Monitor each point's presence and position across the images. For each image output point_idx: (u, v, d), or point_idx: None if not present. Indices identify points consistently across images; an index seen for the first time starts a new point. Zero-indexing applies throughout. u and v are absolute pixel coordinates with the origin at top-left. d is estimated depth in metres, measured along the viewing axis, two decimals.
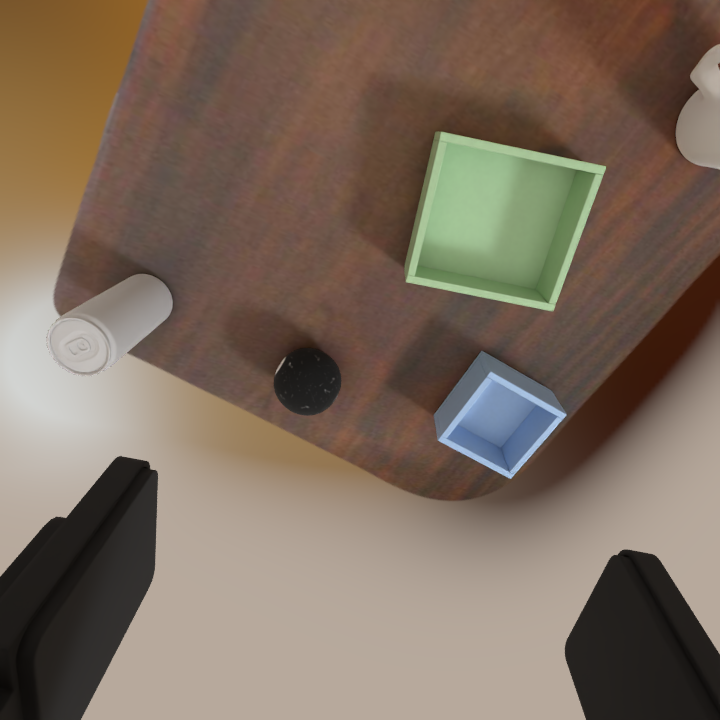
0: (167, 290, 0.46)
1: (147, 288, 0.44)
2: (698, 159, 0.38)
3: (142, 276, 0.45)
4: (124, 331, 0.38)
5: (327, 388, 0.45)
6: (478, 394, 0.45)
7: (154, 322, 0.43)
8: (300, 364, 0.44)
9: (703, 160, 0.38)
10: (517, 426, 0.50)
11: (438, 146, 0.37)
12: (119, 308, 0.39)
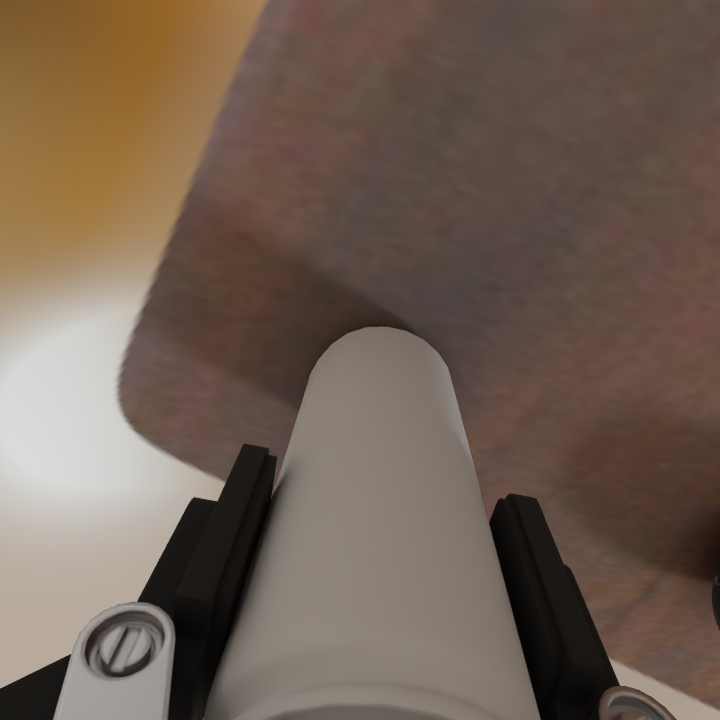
0: None
1: (437, 382, 0.14)
2: None
3: (395, 338, 0.15)
4: (518, 635, 0.08)
5: None
6: None
7: None
8: None
9: None
10: None
11: None
12: (466, 515, 0.09)
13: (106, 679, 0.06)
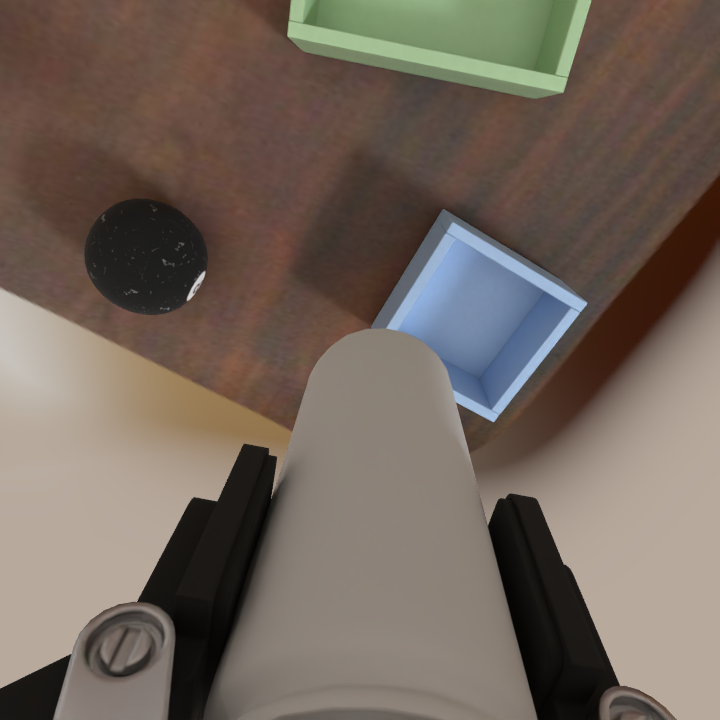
0: (448, 375, 0.16)
1: (436, 384, 0.14)
2: None
3: (394, 340, 0.15)
4: (516, 638, 0.08)
5: (168, 258, 0.25)
6: (433, 267, 0.26)
7: None
8: (118, 215, 0.25)
9: None
10: (505, 341, 0.31)
11: None
12: (465, 518, 0.09)
13: (106, 678, 0.06)
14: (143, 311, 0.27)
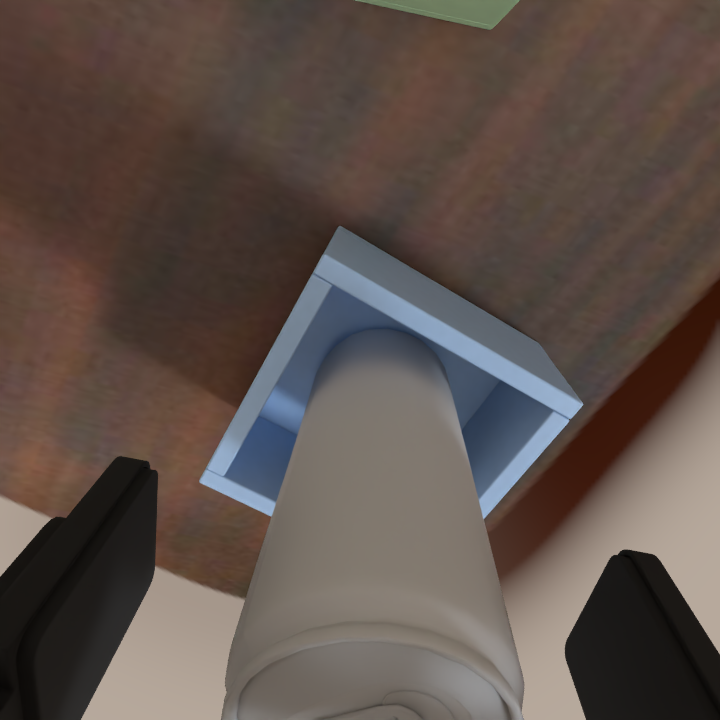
0: None
1: (434, 379, 0.15)
2: None
3: (395, 339, 0.16)
4: (503, 599, 0.09)
5: None
6: (295, 337, 0.14)
7: None
8: None
9: None
10: None
11: None
12: (458, 494, 0.10)
13: None
14: None
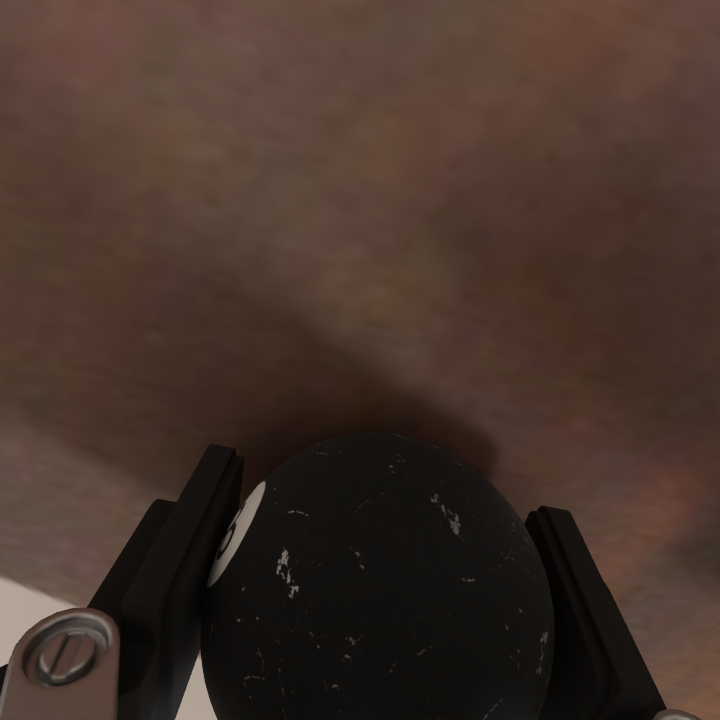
0: None
1: None
2: None
3: None
4: None
5: (521, 717, 0.07)
6: None
7: None
8: (352, 576, 0.07)
9: None
10: None
11: None
12: None
13: (47, 688, 0.06)
14: None
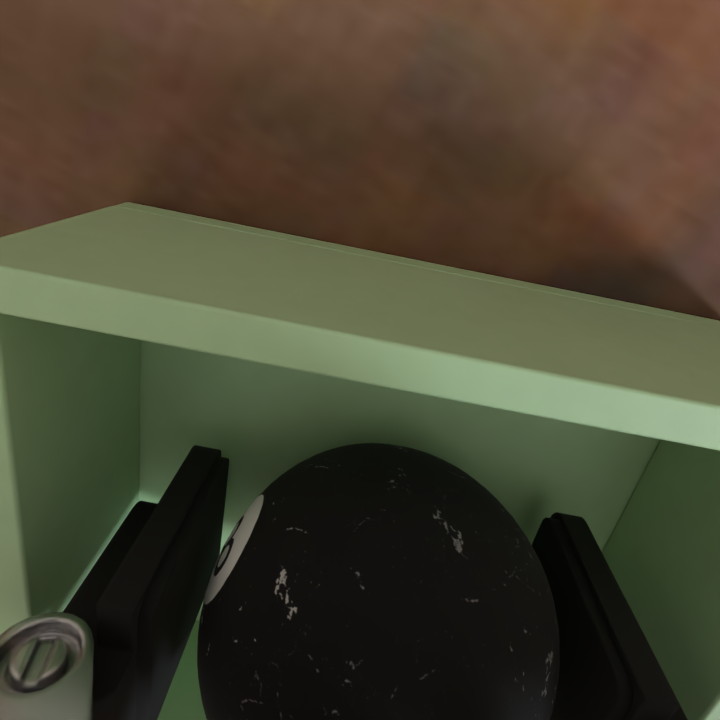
0: None
1: None
2: None
3: None
4: None
5: None
6: None
7: None
8: (352, 597, 0.07)
9: None
10: None
11: None
12: None
13: (19, 695, 0.06)
14: None
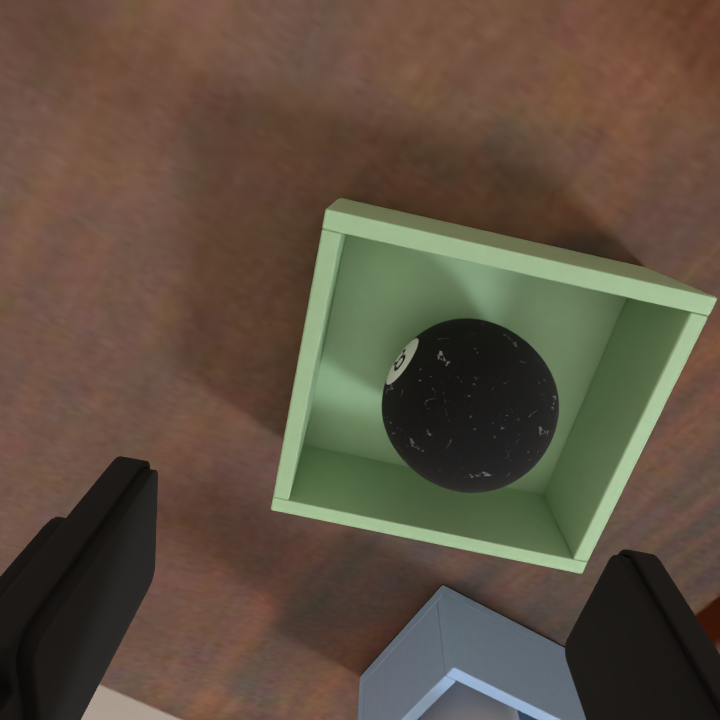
0: None
1: (509, 713, 0.24)
2: None
3: None
4: None
5: (545, 424, 0.16)
6: (430, 702, 0.23)
7: None
8: (473, 355, 0.16)
9: None
10: None
11: (321, 241, 0.16)
12: None
13: None
14: (471, 492, 0.17)
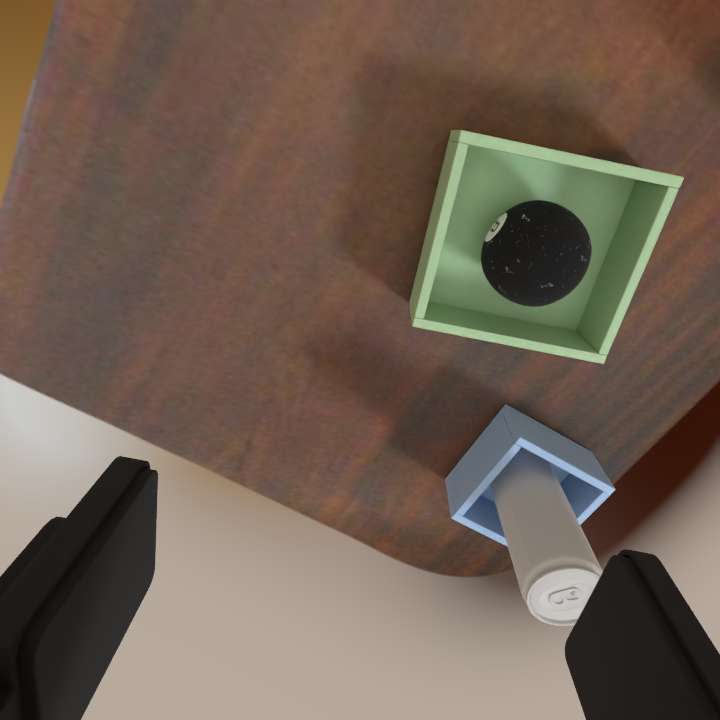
0: (551, 467, 0.39)
1: (554, 477, 0.36)
2: None
3: (532, 456, 0.38)
4: None
5: (584, 254, 0.28)
6: (503, 464, 0.35)
7: None
8: (543, 215, 0.28)
9: None
10: None
11: (457, 150, 0.27)
12: (579, 529, 0.32)
13: None
14: (539, 303, 0.29)
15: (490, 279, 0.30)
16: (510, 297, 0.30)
